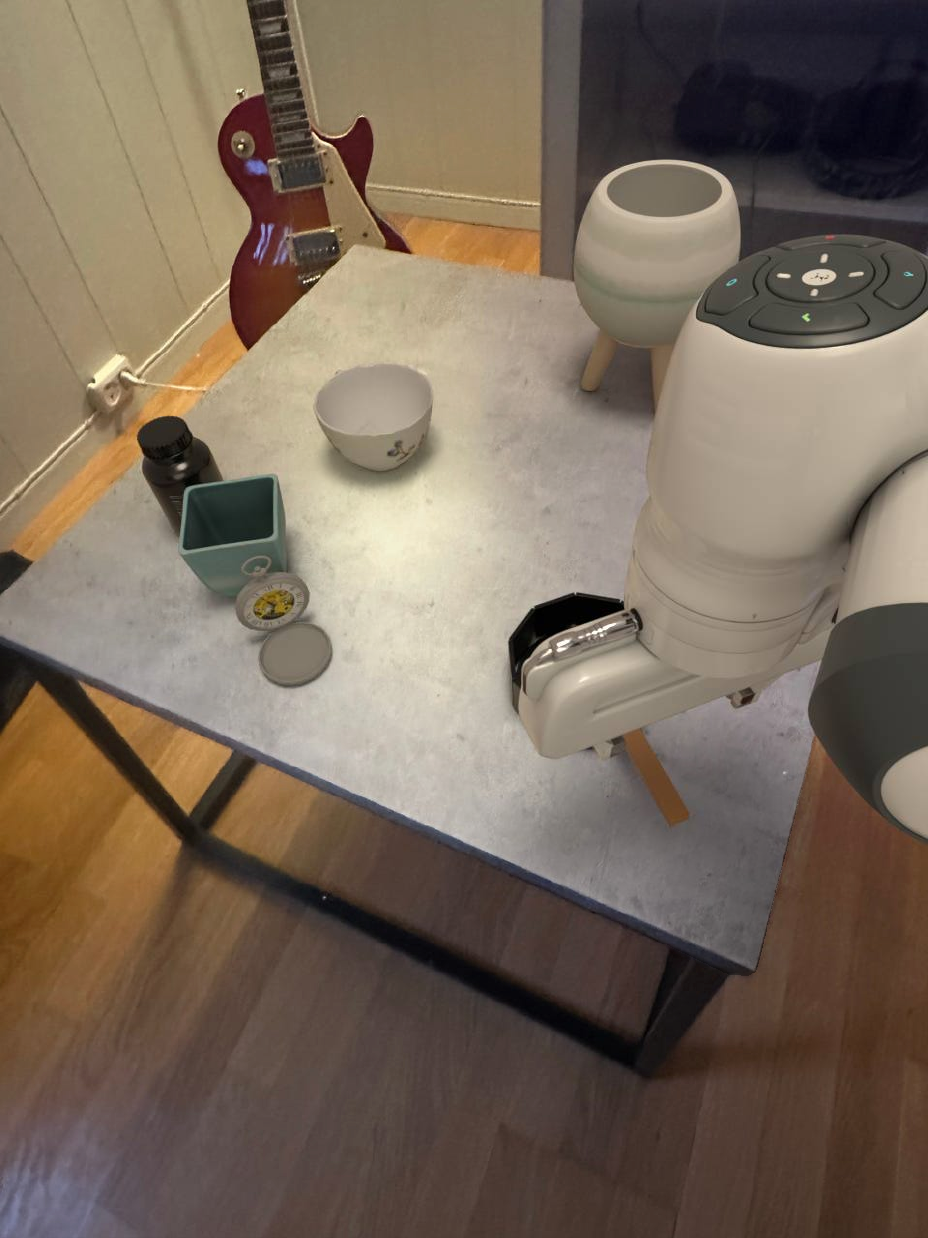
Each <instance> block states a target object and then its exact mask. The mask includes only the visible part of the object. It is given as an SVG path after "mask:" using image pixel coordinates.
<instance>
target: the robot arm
mask: <svg viewBox="0 0 928 1238" xmlns="http://www.w3.org/2000/svg"><path fill="white" fill-rule="evenodd" d="M654 414H655V415H654V420H653V425H652V429H651V433H650V439H649V445H648V449H647V456H646V464H645V475H646V476H645V477H646V484H647V489H648V493H649V496H648V497H647V499H646V501H645V502H644V504H643V506H642V507H641V509H640V512H639V514H638V516H637V519H636V523H635V526H634V532H633V537H632V543H631V549H630V556H629V560H628V567H627V573H626V579H625V584H624V589H623V601H624V608H625V610H623V611H620V612H617V613H614V614H611V615H608V616H605V617H602V618H600V619H597V620H594V621H591V622H588V623H585V624H582V625H580V626H573V627H574V628H571V629H568V630H565V631H563V632H560V633H558V634H556V635H554V636H552V637H550V638H548V639H547V640H545V641H544V642H542V643H541V644H540V645H539V646H538V647H537V648H536V649H535V650H534V652H533V653H532V655H531V657H530V658H528V659H527V660H526V661H525V662H524V664H523V666H522V685H521V690H520V696H519V705H518V709H519V713H518V714H519V717H520V720H521V722H522V724H523V728H524V729H525V731H526V734H527V736H528V738H529V740H530V742H531V744H532V746H533V748H534V749H535V751H536V752H537V754H538V755H539V756H540V757H543V758H545V759H549V760H560V759H561V758H565V757H568V756H570V755H573V754H576V753H578V752H581V751H584V750H587V749H586V748H589V747H592V746H594V747H593V749H594V748H595V749H594V750H595V752H596V753H597V756H598V758H599V759H600V761H604V760H608V759H610V758H612V757H615V756H618V755H621V754H622V753H624V752H625V745H626V741H625V739H624V737H623V734H626V733H629V732H631V731H634V730H637V729H639V728H641V729H642V728H644V727H647V726H649V725H652V724H655V723H657V722H660V721H663V720H665V719H669V718H672V717H673V716H676V715H679V714H681V713H685V712H687V711H689V710H692V709H695V708H697V707H700V706H703V705H706V704H709V703H711V702H714V701H717V700H719V699H722V698H724V697H725V698H726V699H728V700H730V705H731V706H732V708H734V709H735V710H738V709H740V708H743V707H746V706H748V705H751V704H754V703H756V702H758V701H759V699H760V697H761V695H762V693H763V691H765V690H766V689H768V688H769V687H770V686H771V685H773V683H775V682H776V681H777V680H779V679H780V678H781V677H783V675H786V674H789V673H790V672H793V671H796V670H798V669H802V668H804V667H806V666H809V665H811V664H812V665H813V664H814V663H817V662H820V665H819V668H818V671H817V675H816V678H815V680H814V681H815V682H814V684H813V688H812V691H811V693H810V698H809V700H808V704H807V716H808V721H809V724H810V727H811V729H812V732H813V733H814V735H815V736H816V738H817V740H818V741H819V743H820V745H821V746H822V748H823V750H824V751H825V753H826V754H827V755H828V757H829V759H830V760H831V761H832V763H833V764H834V766H835V767H836V768H837V770H838V771H839V772H840V774H841V775H842V776H843V777H844V779H845V780H846V781H847V782H848V784H849V785H850V786H851V787H852V788H853V790H854V791H856V792H857V794H858V795H859V796H860V797H861V798H862V799H863V800H864V802H866V803H867V804H868V805H869V806H870V807H871V808H872V809H873V810H875V812H877V813H878V814H879V815H880V816H882V818H883V819H885V820H886V821H887V822H888V823H890V824H891V825H892V826H894V827H895V828H896V829H898V830H899V831H900V832H902V833H903V834H905V835H907V836H908V837H911V838H912V839H914V840H916V841H918V842H920V843H922V844H924V845H926V846H928V256H926V255H925V254H923V253H921V252H920V251H918V250H916V249H915V248H913V247H910V246H907V245H905V244H903V243H900V242H896V241H892V240H888V239H884V238H879V237H873V236H869V235H860V234H846V233H845V234H844V233H843V234H842V233H841V234H822V235H814V236H807V237H802V238H797V239H792V240H787V241H785V242H781V243H779V244H777V245H775V246H774V245H773V246H772V247H768V248H766V249H763V250H759V251H757V252H755V253H753V254H751V255H749V256H747V257H745V258H743V259H742V260H740V261H738V263H736V264H735V265H733V266H732V267H730V268H729V269H728V270H726V271H725V272H724V273H723V274H721V275H720V276H719V277H718V278H717V279H715V280H714V281H713V282H712V283H711V284H710V286H709V287H708V288H707V289H706V290H705V292H704V293H703V294H702V295H701V297H700V298H699V299H698V301H697V302H696V303H695V305H694V306H693V308H692V310H691V311H690V313H689V315H688V316H687V318H686V320H685V322H684V324H683V326H682V328H681V331H680V333H679V336H678V338H677V340H676V343H675V346H674V349H673V352H672V355H671V358H670V361H669V364H668V368H667V371H666V375H665V378H664V382H663V386H662V389H661V393H660V397H659V401H658V406H657V409H656V413H654Z"/></svg>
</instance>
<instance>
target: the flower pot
mask: <svg viewBox="0 0 928 1238" xmlns="http://www.w3.org/2000/svg"><path fill="white" fill-rule="evenodd" d="M285 511H286V510H285V506H284V501H283V496H282V491H281V486H280V481H279V478H278V475H277V474H276V473H265V474H259V475H254V476H247V477H240V478H233V479H226V480H224V481H220V482H213V483H208V484H199V485H194V486H190V487H187V488H186V489H185V491H184V498H183V511H182V522H181V530H180V536H179V539H178V545H177V547H178V548H177V551H178V555H180V557H181V559H182V560H183V561H184V562H185V563H186V565H187V566H188V568H189V569H190V570H191V571H192V572H193V574H194V575H195V576H196V577H197V579H198V580H199V581H200V583H202V584H203V585H204V586H205V587H206V588H208V589H210V590H211V591H213V592H215V593H217V594H220V595H223V596H228V597H230V598H231V597H232V598H235V597H236V598H237V596H238V594H239V593H240V591H241V590H242V589H243V588H244V587H245V586H246V585H247V584H248V583H249V582H251V581H252V580H254V579H256V577H253V576H247V575H244V574H243V573H242V571H241V567H242V566H243V564H244V563H245V562H246V561H247V560H249V559H251V558H253V557H256V556H267V557H269V558H270V559H271V565H270V567H269V568H268V569H267V571H266V574H269V573H274V572H286V573H287V521H286V519H287V518H286V512H285ZM267 565H268V561H267V560H266V559H263V558H259V559H254V560H252V561H250V562H249V563H248V564H247V565H246V566H245V569H244V570H245V571H246V572H247V573H253V572H254V571H255V567H257V566H259V567H260V568H266V566H267Z"/></svg>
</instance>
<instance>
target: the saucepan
mask: <svg viewBox="0 0 928 1238" xmlns="http://www.w3.org/2000/svg"><path fill="white" fill-rule="evenodd" d="M623 610H625V608H624V600H621V599H620V598H614V597H608V596H603V595H596V594H590V593H585V592H579V591H576V593H575V592H571V593H568V594H564V595H562V596H558V597H555V598H552V599H550V600H547V601H545V602H544V601H543V602H542V603H538V604H536V605H533V607H531V608H530V609H529V611H528V612H527V613H526V615H525V616H524V617H523V619H522V620H521V621H520V623H519V624H518V626H517V627H516V628H515V629H514V631H513V632H512V633H511V635H510V636H509V638H508V640H507V648H508V649H507V651H508V670H509V680H510V691H511V692H510V693H511V701H512V702H511V703H512V707H513V709H514V710H515V712H517V714H519V709H518V705H519V696H520V690H521V685H522V666H523V664H524V662H525V661H526V660H527V659H528V658H530V657H531V655H532V653H533V652H534V650H535V649H536V648H537V647H538V646H539V645H540V644H541V643H542V642H544V641H545V640H547V639H548V638H550V637H552V636H554V635H556V634H558V633H560V632H563V631H565V630H568V629H571V628H574V627H577V626H580V625H582V624H585V623H588V622H591V621H594V620H597V619H600V618H602V617H605V616H608V615H611V614H614V613H617V612H620V611H623ZM516 666H517V668H516ZM641 729H642V728H639V729H637V730H634V731H631V732H629V733H626V734H623V737H624V739H625V741H626V745H625V747H624V750H625V751H626V753H627V754H628V756H629V758H630V760H631V762H632V763H633V765H634V767H635V769H636V771H637V772H638V773H639V774H638V775H639V776H640V777H641V780H642V781H643V783H644V784H645V786H646V788H647V790H648V792H649V794H650V795H651V797H652V799H653V801H654V803H655V804H656V806H657V807H658V810H659V811H660V813H661V815H662V816H663V818H664V820H665V822H666V824H667V826H668V827H669V828H672V827H675V826H677V825H680V824H682V823H685V822H687V821H689V820H690V819H691V816H692V815H691V813H690V811H689V810H688V807H687V806H686V804H685V803H684V801H683V798H681V796H680V794H679V792H678V790H677V789H676V788H675V786H674V784H673V782H672V781H671V779H670V777H669V776H668V774H667V772H666V771H665V769H664V767H663V765H662V764H661V762H660V760H659V758H658V757H657V755H656V753H655V752H654V750H653V749H652V748H653V747H651V745H650V743H649V742H648V740H647V738H646V736H645V735H644V733H643V731H642V730H641ZM593 749H594V750H595V748H594V746H592V747H589V748H586V749H585V750H590V751H591V750H593Z"/></svg>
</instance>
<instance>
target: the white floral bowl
mask: <svg viewBox="0 0 928 1238" xmlns="http://www.w3.org/2000/svg"><path fill="white" fill-rule="evenodd" d="M334 373H335V374H334V375H333V376H332V377H331V378H330V379H328V380H326V381H325V383H324V384H323V386H322V387H321V388H320V389H319V390H318V391H317V392H316V394H315V397H314V401H313V402H314V403H313V406H312V408H313V412H314V416H315V417H316V420H317V422H318V424H319V428H321V430H322V432H323V434H324V435H325V437H326V439H327V440H328V442H329V443H330V444H331V446H332V447H333V448H334V449H335V450H336V451H337V452H338V453H339V454H340V455H341V456H342V457H344V458H345V459H347V460H348V461H350V462H351V463H353V464H355V465H358V466H360V467H363V468H365V469H367V470H369V471H373V472H386V471H391V470H394V469H397V468H399V467H400V466H401V465H402V464H404V463H406V462H407V461H408V460H409V458H411V457H412V456H413V455H414V454H415V452H416V451H418V449H419V448H420V447H421V445H422V443H423V442H424V440H425V438H426V436H427V433H428V430H429V427H430V424H431V419H432V415H433V404H434V391H433V387H432V383H431V381H430V380H429V378H427V376H426V375H425V374H424V373H423V372H420V371H419V370H418V369H415V368H413V367H411V366H409V365H407V364H403V363H398V362H394V361H391V362H390V361H389V362H388V361H387V362H386V361H385V362H384V361H383V362H382V361H381V362H380V361H379V362H378V361H377V362H376V361H375V362H373V363H371V364H368V365H365V364H362V365H361V364H360V365H359V364H358V365H355V366H350V367H348V368H346V369H338V370H336V371H335V372H334Z"/></svg>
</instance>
